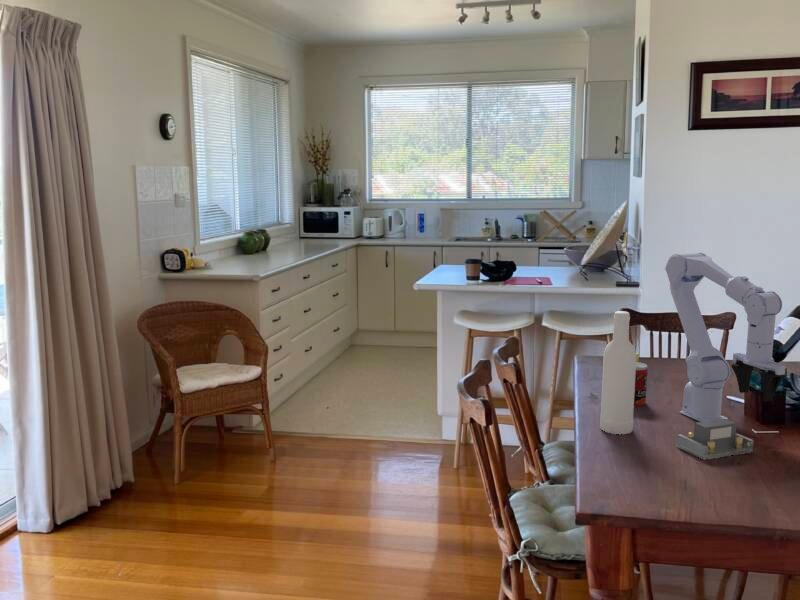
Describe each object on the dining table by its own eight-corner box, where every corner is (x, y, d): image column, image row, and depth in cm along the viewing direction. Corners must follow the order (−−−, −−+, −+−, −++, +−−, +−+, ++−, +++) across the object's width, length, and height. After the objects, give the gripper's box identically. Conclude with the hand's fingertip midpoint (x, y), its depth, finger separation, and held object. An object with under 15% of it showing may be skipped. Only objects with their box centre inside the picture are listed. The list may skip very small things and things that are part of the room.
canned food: (640, 408, 207) (642, 369, 206) (612, 403, 212) (613, 365, 210) (649, 401, 213) (651, 363, 212) (622, 396, 218) (624, 359, 216)
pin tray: (676, 446, 178) (677, 432, 178) (723, 439, 183) (724, 425, 182) (703, 460, 170) (704, 445, 169) (752, 452, 175) (753, 438, 174)
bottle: (612, 436, 185) (618, 316, 180) (593, 426, 192) (598, 310, 187) (639, 432, 188) (646, 313, 183) (619, 423, 195) (625, 308, 190)
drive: (693, 445, 176) (694, 422, 175) (723, 440, 179) (725, 418, 178) (704, 450, 173) (705, 427, 172) (735, 445, 176) (736, 423, 175)
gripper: (724, 336, 188) (720, 389, 190) (770, 349, 174) (765, 406, 177) (747, 335, 190) (743, 387, 192) (794, 347, 177) (789, 403, 179)
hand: (755, 396), depth 185 cm, fingers open, 7 cm apart
